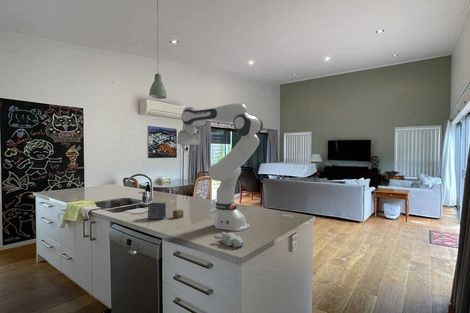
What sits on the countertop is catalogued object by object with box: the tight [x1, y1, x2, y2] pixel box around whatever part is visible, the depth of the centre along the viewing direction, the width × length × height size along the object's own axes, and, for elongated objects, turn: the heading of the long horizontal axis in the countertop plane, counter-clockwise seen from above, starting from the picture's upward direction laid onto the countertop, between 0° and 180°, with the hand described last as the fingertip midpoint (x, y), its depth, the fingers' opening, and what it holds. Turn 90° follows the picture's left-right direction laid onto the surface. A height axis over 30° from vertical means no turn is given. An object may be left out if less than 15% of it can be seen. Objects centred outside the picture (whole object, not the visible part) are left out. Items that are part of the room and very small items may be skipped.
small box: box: [147, 202, 167, 221], centre depth 183 cm, size 11×6×10 cm, turn 84°
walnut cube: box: [172, 209, 184, 220], centre depth 186 cm, size 5×5×5 cm
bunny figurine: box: [214, 231, 245, 249], centre depth 133 cm, size 10×5×15 cm
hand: (188, 151), depth 184 cm, fingers open, 8 cm apart
